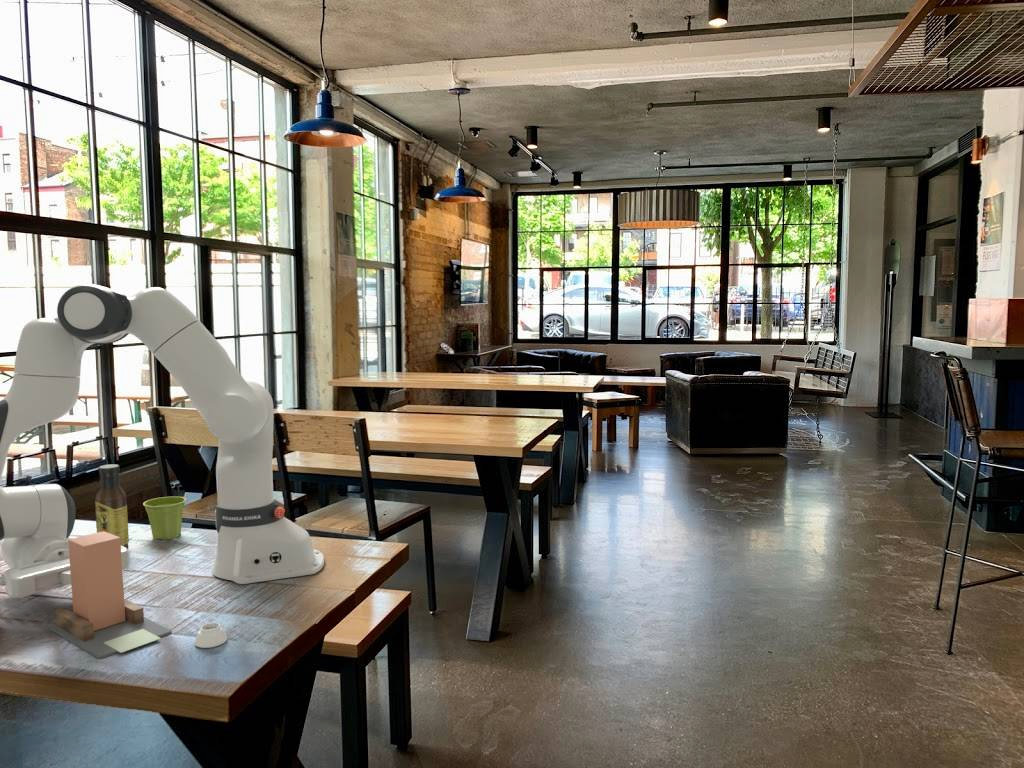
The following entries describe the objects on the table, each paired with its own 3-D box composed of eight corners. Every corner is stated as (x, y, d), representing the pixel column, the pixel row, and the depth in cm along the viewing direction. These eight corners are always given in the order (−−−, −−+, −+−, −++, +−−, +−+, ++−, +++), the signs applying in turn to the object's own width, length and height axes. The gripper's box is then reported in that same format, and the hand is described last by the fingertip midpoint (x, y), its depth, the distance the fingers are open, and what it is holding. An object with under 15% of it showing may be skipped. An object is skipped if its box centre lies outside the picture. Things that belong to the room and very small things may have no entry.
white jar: (231, 644, 128) (222, 634, 132) (230, 627, 128) (221, 617, 132) (199, 653, 125) (191, 642, 129) (198, 635, 125) (190, 625, 129)
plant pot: (140, 535, 186) (138, 500, 185) (181, 528, 192) (179, 494, 191) (151, 545, 179) (149, 508, 178) (193, 536, 185) (191, 501, 184)
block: (74, 623, 135) (68, 539, 133) (109, 612, 139) (103, 531, 138) (89, 632, 131) (83, 546, 129) (125, 620, 136) (120, 537, 134)
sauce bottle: (94, 552, 174) (88, 465, 172) (124, 546, 179) (119, 461, 176) (103, 559, 170) (97, 470, 168) (133, 552, 174) (128, 465, 172)
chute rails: (55, 624, 135) (54, 611, 134) (114, 606, 142) (113, 593, 142) (84, 641, 128) (83, 627, 128) (144, 621, 136) (143, 607, 135)
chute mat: (48, 628, 134) (48, 625, 134) (118, 606, 144) (118, 603, 144) (103, 661, 122) (103, 658, 122) (176, 635, 131) (176, 632, 131)
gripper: (-11, 562, 137) (20, 579, 128) (108, 533, 153) (143, 547, 144) (-8, 596, 137) (23, 615, 129) (110, 564, 153) (145, 579, 145)
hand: (87, 579), depth 137 cm, fingers closed
